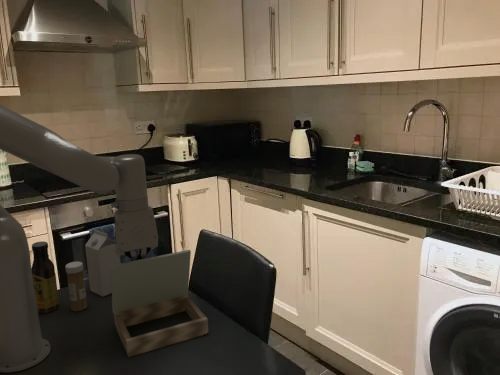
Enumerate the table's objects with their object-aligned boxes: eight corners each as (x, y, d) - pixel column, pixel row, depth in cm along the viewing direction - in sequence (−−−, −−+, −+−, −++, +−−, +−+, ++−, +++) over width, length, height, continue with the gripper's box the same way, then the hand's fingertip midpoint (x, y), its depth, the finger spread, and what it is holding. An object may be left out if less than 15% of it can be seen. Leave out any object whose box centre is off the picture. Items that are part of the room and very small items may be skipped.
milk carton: (110, 282, 141) (104, 226, 137) (123, 288, 137) (117, 230, 132) (90, 290, 136) (83, 232, 131) (103, 297, 131) (96, 237, 127)
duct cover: (111, 267, 106) (110, 265, 107) (113, 313, 113) (112, 311, 114) (190, 251, 115) (189, 249, 116) (187, 294, 123) (186, 293, 123)
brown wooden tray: (128, 357, 101) (126, 341, 101) (115, 327, 114) (114, 313, 114) (208, 333, 110) (207, 319, 110) (188, 308, 123) (187, 295, 122)
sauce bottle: (32, 309, 125) (22, 243, 121) (53, 301, 129) (45, 237, 125) (41, 317, 121) (31, 249, 116) (63, 308, 125) (55, 242, 121)
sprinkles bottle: (89, 308, 125) (84, 264, 122) (73, 313, 122) (67, 268, 119) (85, 302, 128) (80, 259, 125) (69, 307, 126) (63, 263, 123)
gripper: (105, 212, 103) (113, 284, 107) (166, 202, 110) (171, 270, 114) (98, 205, 109) (106, 273, 113) (157, 196, 116) (162, 261, 120)
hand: (139, 272), depth 114 cm, fingers closed
